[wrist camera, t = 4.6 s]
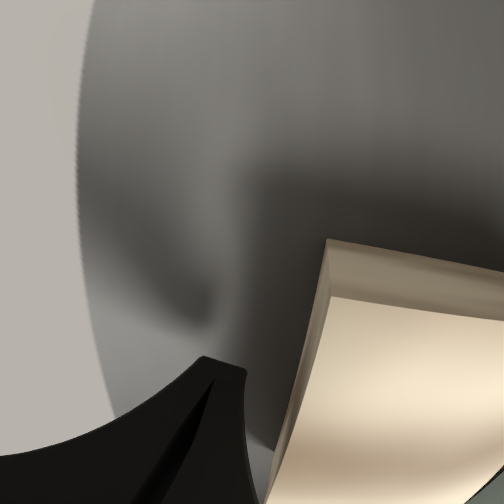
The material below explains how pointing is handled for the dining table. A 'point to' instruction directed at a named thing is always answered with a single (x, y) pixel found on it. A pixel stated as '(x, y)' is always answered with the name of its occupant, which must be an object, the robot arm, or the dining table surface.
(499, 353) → the maple block
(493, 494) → the sage board
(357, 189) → the dining table surface
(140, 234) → the dining table surface
